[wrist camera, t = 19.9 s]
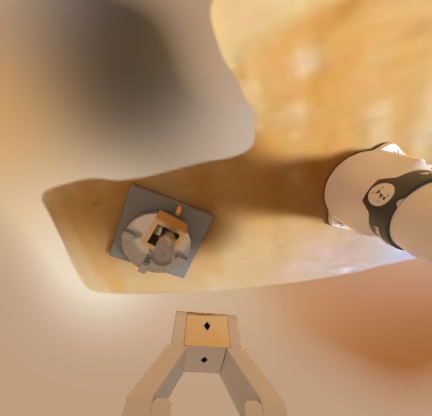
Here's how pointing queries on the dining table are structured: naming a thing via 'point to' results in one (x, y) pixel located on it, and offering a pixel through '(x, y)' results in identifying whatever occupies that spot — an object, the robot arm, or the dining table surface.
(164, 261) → the steel pin
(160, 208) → the base
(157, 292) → the dining table surface
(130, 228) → the grey round chuck
